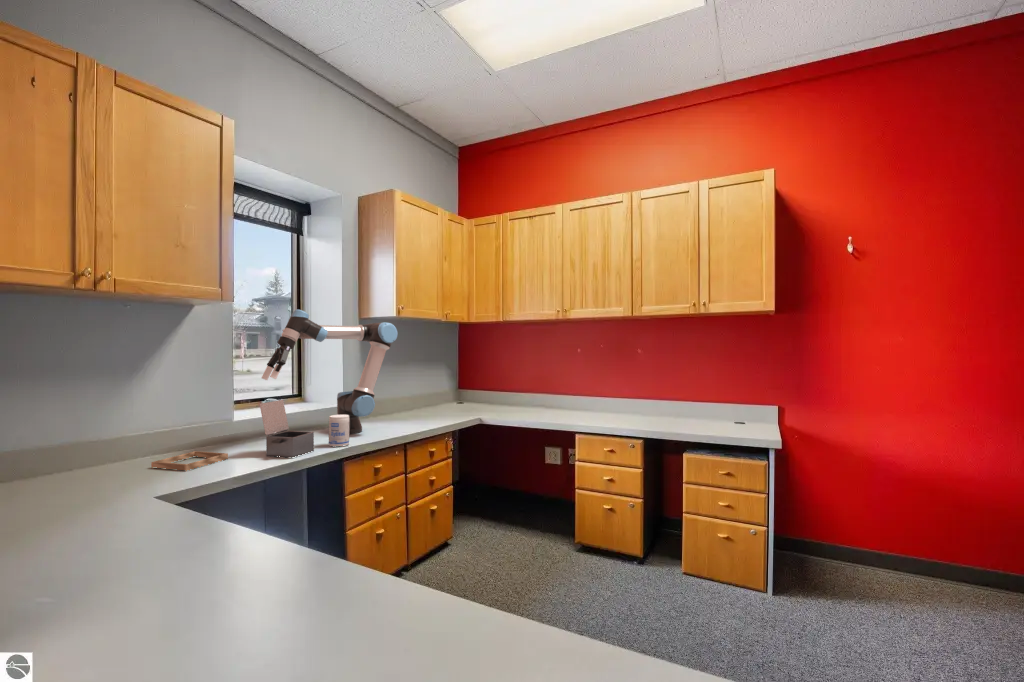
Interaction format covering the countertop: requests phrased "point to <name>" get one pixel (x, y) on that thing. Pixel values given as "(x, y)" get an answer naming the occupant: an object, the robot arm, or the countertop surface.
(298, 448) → the dark grey storage box
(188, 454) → the corral
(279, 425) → the lid
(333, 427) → the supplement tub
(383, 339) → the robot arm
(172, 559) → the countertop surface
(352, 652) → the countertop surface
